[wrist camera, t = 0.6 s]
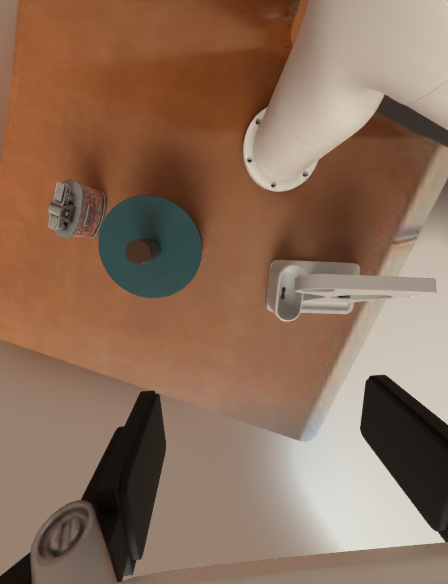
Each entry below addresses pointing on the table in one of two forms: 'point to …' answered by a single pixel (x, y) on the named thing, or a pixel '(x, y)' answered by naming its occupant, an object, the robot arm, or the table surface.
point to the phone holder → (332, 287)
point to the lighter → (77, 210)
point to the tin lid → (150, 246)
